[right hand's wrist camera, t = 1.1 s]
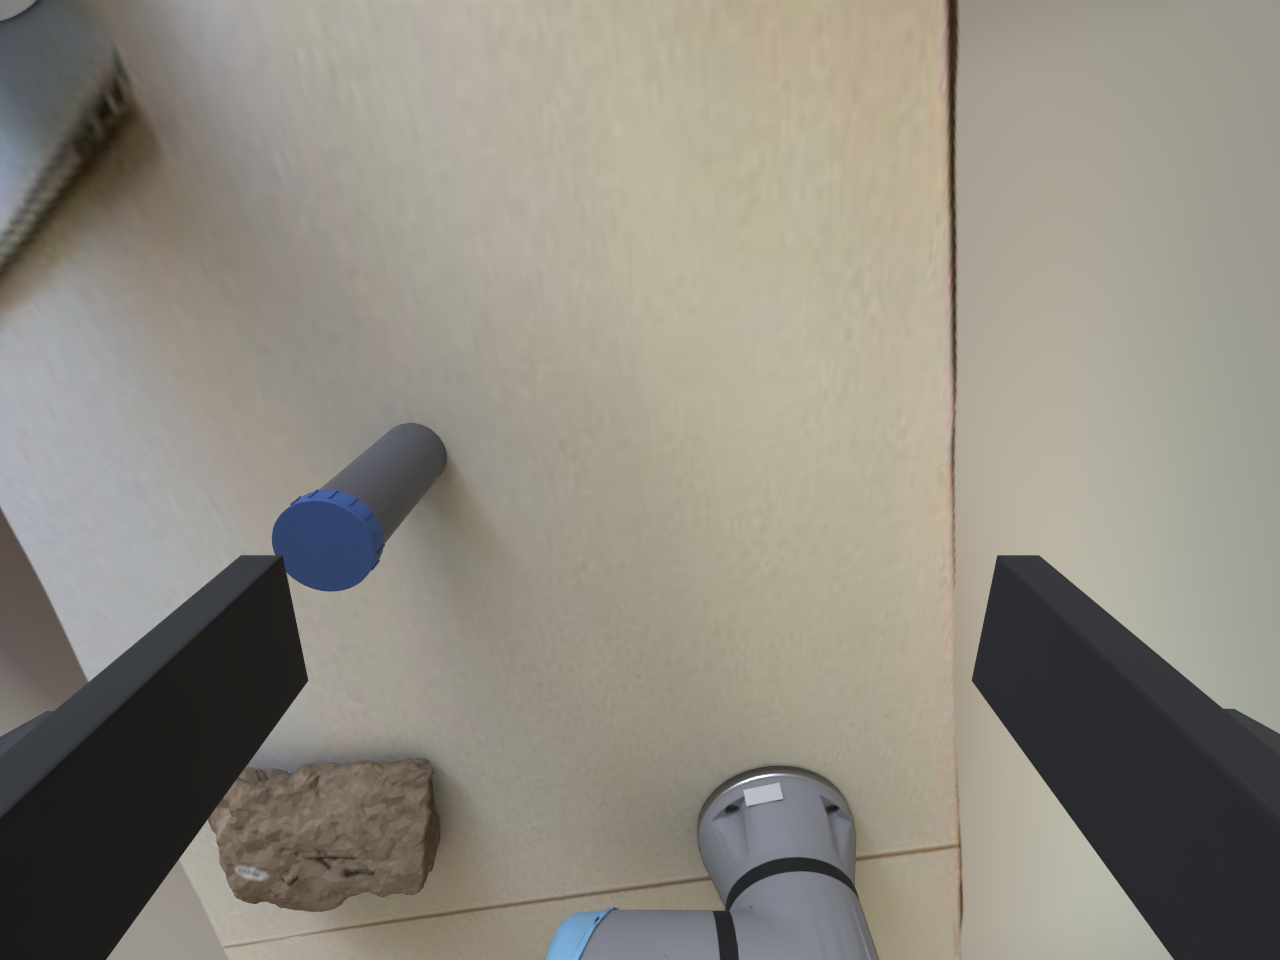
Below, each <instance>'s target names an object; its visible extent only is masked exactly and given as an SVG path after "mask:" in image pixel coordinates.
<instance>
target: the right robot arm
mask: <svg viewBox="0 0 1280 960" xmlns="http://www.w3.org/2000/svg"><path fill="white" fill-rule="evenodd" d="M307 682H308V677H307V672H306V667H305V662H304V657H303V653H302V648H301V643H300V638H299V633H298V628H297V623H296V618H295V613H294V609H293V604H292V599H291V594H290V589H289V584H288V579H287V574H286V569H285V565H284V560H283V555H241V556H240V557H239V558H237V559H236V560H235V561H234V562H233V563H231V564H230V565H229V566H228V567H227V568H225V569H224V570H223V571H222V572H221V573H219V574H218V575H217V576H216V577H215V578H213V579H212V580H211V581H210V582H209V583H207V584H206V585H205V586H204V587H203V588H201V589H200V590H199V591H198V592H197V593H195V594H194V595H193V596H192V597H191V598H189V599H188V600H187V601H186V602H185V603H183V604H182V605H181V606H180V607H179V608H177V609H176V610H175V611H174V612H173V613H171V614H170V615H169V616H168V617H167V618H165V619H164V620H163V621H162V622H161V623H159V624H158V625H157V626H156V627H155V628H153V629H152V630H151V631H150V632H149V633H147V634H146V635H145V636H144V637H143V638H141V639H140V640H139V641H138V642H137V643H135V644H134V645H133V646H132V647H131V648H129V649H128V650H127V651H126V652H125V653H123V654H122V655H121V656H120V657H119V658H117V659H116V660H115V661H114V662H113V663H111V664H110V665H109V666H108V667H107V668H105V669H104V670H103V671H102V672H101V673H99V674H98V675H97V676H96V677H95V678H93V679H92V680H91V681H90V682H89V683H87V684H86V685H85V686H84V687H83V688H81V689H80V690H79V691H78V692H77V693H75V694H74V695H73V696H72V697H71V698H69V699H68V700H67V701H66V702H65V703H63V704H62V705H61V706H60V707H59V708H57V709H56V710H55V711H46V712H45V713H43V714H41V715H39V716H37V717H36V718H34V719H32V720H30V721H28V722H27V723H25V724H23V725H21V726H19V727H18V728H16V729H14V730H12V731H10V732H8V733H7V734H5V735H3V736H1V737H0V960H106V959H107V957H108V956H109V955H110V953H111V952H112V951H113V949H114V948H115V946H116V945H117V944H118V942H119V941H120V939H121V938H122V937H123V935H124V934H125V933H126V931H127V930H128V928H129V927H130V926H131V924H132V923H133V922H134V920H135V919H136V917H137V916H138V915H139V913H140V912H141V911H142V909H143V908H144V906H145V905H146V904H147V902H148V901H149V900H150V898H151V897H152V895H153V894H154V893H155V891H156V890H157V889H158V887H159V886H160V884H161V883H162V882H163V880H164V879H165V877H166V876H167V875H168V873H169V872H170V870H171V869H172V868H173V866H174V865H175V864H176V862H177V861H178V860H179V858H180V857H181V855H182V854H183V853H184V851H185V850H186V848H187V847H188V846H189V844H190V843H191V842H192V840H193V839H194V837H195V836H196V835H197V833H198V832H199V831H200V829H201V828H202V826H203V825H204V824H205V822H206V821H207V820H208V818H209V817H210V815H211V814H212V813H213V811H214V810H215V808H216V807H217V806H218V804H219V803H220V802H221V800H222V799H223V797H224V796H225V795H226V793H227V792H228V791H229V789H230V788H231V786H232V785H233V784H234V782H235V781H236V780H237V778H238V777H239V775H240V774H241V773H242V771H243V770H244V768H245V767H246V766H247V764H248V763H249V762H250V760H251V759H252V757H253V756H254V755H255V753H256V752H257V751H258V749H259V748H260V746H261V745H262V744H263V742H264V741H265V740H266V738H267V737H268V735H269V734H270V733H271V731H272V730H273V728H274V727H275V726H276V724H277V723H278V722H279V720H280V719H281V717H282V716H283V715H284V713H285V712H286V711H287V709H288V708H289V706H290V705H291V704H292V702H293V701H294V699H295V698H296V697H297V695H298V694H299V693H300V691H301V690H302V688H303V687H304V686H305V684H306V683H307ZM972 682H973V683H974V684H975V686H976V687H977V688H978V690H979V691H980V693H981V694H982V695H983V697H984V698H985V700H986V701H987V702H988V704H989V705H990V706H991V708H992V709H993V711H994V712H995V713H996V715H997V716H998V717H999V719H1000V720H1001V722H1002V723H1003V724H1004V726H1005V727H1006V728H1007V730H1008V731H1009V733H1010V734H1011V735H1012V737H1013V738H1014V740H1015V741H1016V742H1017V744H1018V745H1019V746H1020V748H1021V749H1022V751H1023V752H1024V753H1025V755H1026V756H1027V757H1028V759H1029V760H1030V762H1031V763H1032V764H1033V766H1034V767H1035V768H1036V770H1037V771H1038V773H1039V774H1040V775H1041V777H1042V778H1043V780H1044V781H1045V782H1046V784H1047V785H1048V786H1049V788H1050V789H1051V791H1052V792H1053V793H1054V795H1055V796H1056V797H1057V799H1058V800H1059V801H1060V803H1061V804H1062V806H1063V807H1064V808H1065V810H1066V811H1067V813H1068V814H1069V815H1070V817H1071V818H1072V820H1073V821H1074V822H1075V824H1076V825H1077V826H1078V828H1079V829H1080V831H1081V832H1082V833H1083V835H1084V836H1085V837H1086V839H1087V840H1088V842H1089V843H1090V844H1091V846H1092V847H1093V848H1094V850H1095V851H1096V852H1097V854H1098V855H1099V857H1100V858H1101V859H1102V861H1103V862H1104V864H1105V865H1106V866H1107V868H1108V869H1109V871H1110V872H1111V873H1112V875H1113V876H1114V877H1115V879H1116V880H1117V881H1118V883H1119V884H1120V886H1121V887H1122V888H1123V890H1124V891H1125V893H1126V894H1127V895H1128V897H1129V898H1130V900H1131V901H1132V902H1133V904H1134V905H1135V906H1136V908H1137V909H1138V911H1139V912H1140V913H1141V915H1142V916H1143V917H1144V919H1145V920H1146V922H1147V923H1148V924H1149V926H1150V927H1151V929H1152V930H1153V931H1154V933H1155V934H1156V935H1157V937H1158V938H1159V939H1160V941H1161V942H1162V944H1163V945H1164V946H1165V948H1166V949H1167V951H1168V952H1169V953H1170V955H1171V956H1172V957H1173V959H1174V960H1280V734H1279V733H1277V732H1275V731H1273V730H1272V729H1270V728H1268V727H1266V726H1264V725H1263V724H1261V723H1259V722H1257V721H1255V720H1253V719H1252V718H1250V717H1248V716H1246V715H1244V714H1242V713H1241V712H1239V711H1237V710H1235V709H1223V708H1221V707H1220V706H1219V705H1218V704H1217V703H1215V702H1214V701H1213V700H1212V699H1211V698H1209V697H1208V696H1207V695H1206V694H1205V693H1203V692H1202V691H1201V690H1200V689H1199V688H1197V687H1196V686H1195V685H1194V684H1193V683H1191V682H1190V681H1189V680H1188V679H1187V678H1185V677H1184V676H1183V675H1182V674H1181V673H1179V672H1178V671H1177V670H1176V669H1175V668H1173V667H1172V666H1171V665H1170V664H1169V663H1167V662H1166V661H1165V660H1164V659H1163V658H1161V657H1160V656H1159V655H1158V654H1157V653H1155V652H1154V651H1153V650H1152V649H1151V648H1149V647H1148V646H1147V645H1146V644H1145V643H1143V642H1142V641H1141V640H1140V639H1139V638H1137V637H1136V636H1135V635H1134V634H1133V633H1131V632H1130V631H1129V630H1128V629H1127V628H1125V627H1124V626H1123V625H1122V624H1121V623H1119V622H1118V621H1117V620H1116V619H1115V618H1113V617H1112V616H1111V615H1110V614H1109V613H1107V612H1106V611H1105V610H1104V609H1103V608H1101V607H1100V606H1099V605H1098V604H1097V603H1095V602H1094V601H1093V600H1092V599H1091V598H1089V597H1088V596H1087V595H1086V594H1085V593H1083V592H1082V591H1081V590H1080V589H1079V588H1077V587H1076V586H1075V585H1074V584H1073V583H1071V582H1070V581H1069V580H1068V579H1067V578H1065V577H1064V576H1063V575H1062V574H1061V573H1059V572H1058V571H1057V570H1056V569H1055V568H1053V567H1052V566H1051V565H1050V564H1049V563H1047V562H1046V561H1045V560H1044V559H1043V558H1041V557H1040V556H1038V555H1037V556H1036V555H1033V556H1032V555H1025V556H1023V555H1017V556H1016V555H1008V556H1007V555H1006V556H1004V555H1003V556H1002V555H1001V556H1000V555H998V556H997V560H996V565H995V570H994V574H993V579H992V584H991V589H990V594H989V599H988V604H987V609H986V614H985V618H984V623H983V628H982V633H981V638H980V643H979V648H978V653H977V658H976V662H975V667H974V672H973V677H972ZM697 834H698V844H699V850H700V854H701V857H702V860H703V863H704V865H705V868H706V870H707V872H708V874H709V876H710V878H711V880H712V882H713V884H714V886H715V888H716V890H717V892H718V894H719V896H720V898H721V900H722V902H723V904H724V906H725V910H726V911H708V910H619V909H618V908H610V909H609V908H607V909H606V910H604V911H592V912H577V913H575V914H573V915H570V916H569V917H568V918H566V919H565V920H564V921H563V922H562V923H561V924H560V925H559V927H558V929H557V930H556V932H555V934H554V936H553V939H552V941H551V944H550V947H549V950H548V953H547V957H546V960H879V958H878V955H877V952H876V949H875V946H874V943H873V940H872V937H871V933H870V930H869V927H868V924H867V921H866V918H865V915H864V912H863V909H862V906H861V903H860V901H859V898H858V895H857V891H856V888H855V860H856V832H855V825H854V820H853V817H852V814H851V811H850V809H849V806H848V803H847V801H846V799H845V797H844V796H843V794H842V793H841V792H840V790H839V789H838V788H837V787H836V786H835V785H834V784H832V783H831V782H830V781H829V780H827V779H825V778H824V777H822V776H820V775H818V774H816V773H814V772H811V771H808V770H805V769H801V768H796V767H788V766H771V767H763V768H758V769H753V770H750V771H747V772H744V773H741V774H739V775H737V776H735V777H733V778H731V779H729V780H728V781H726V782H725V783H723V784H722V785H720V786H719V787H718V788H717V789H716V790H715V791H714V792H713V793H712V794H711V795H710V796H709V797H708V799H707V800H706V802H705V803H704V805H703V807H702V809H701V811H700V814H699V818H698V823H697Z"/></svg>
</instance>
